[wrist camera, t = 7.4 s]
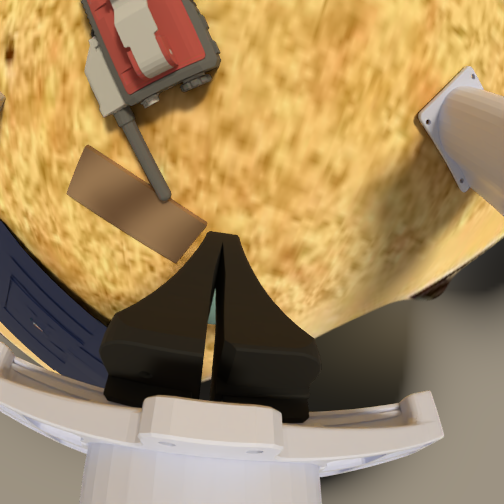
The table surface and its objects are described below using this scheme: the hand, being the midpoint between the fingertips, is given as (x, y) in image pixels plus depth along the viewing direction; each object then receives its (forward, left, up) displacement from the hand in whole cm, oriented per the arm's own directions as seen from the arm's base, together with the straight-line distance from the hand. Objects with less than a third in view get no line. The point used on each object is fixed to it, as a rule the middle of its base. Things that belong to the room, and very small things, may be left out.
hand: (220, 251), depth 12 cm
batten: (+5, +7, -10) cm, 13 cm away
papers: (+9, +32, -10) cm, 35 cm away
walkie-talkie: (+10, -4, -10) cm, 14 cm away
